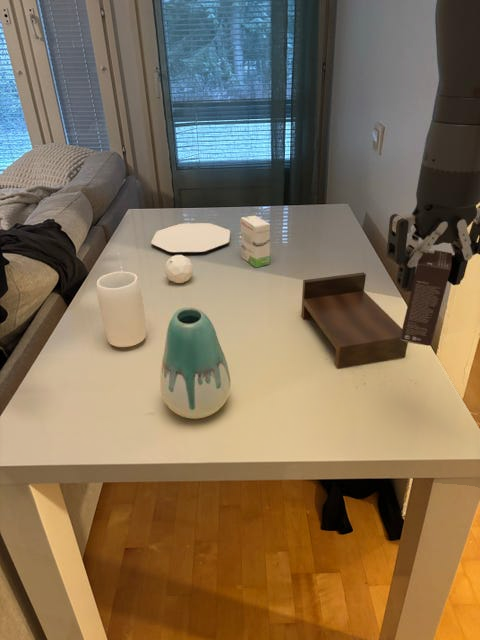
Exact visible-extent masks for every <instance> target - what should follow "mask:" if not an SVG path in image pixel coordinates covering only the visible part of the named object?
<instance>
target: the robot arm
mask: <svg viewBox="0 0 480 640" xmlns="http://www.w3.org/2000/svg"><path fill="white" fill-rule="evenodd" d="M434 23H435V24H434V25H435V26H434V27H435V44H436V63H437V71H438V73H437V74H438V83H437V88H436V94H435V99H434V102H433V103H434V105H433V109H432V116H431V120H430V124H429V127H428V132H427V134H426V138H425V141H424V148H423V152H422V153H423V154H422V159H421V164H420V170H419V175H418V180H417V187H416V193H415V197H416V205H415V207H414V210H413V211H412V212H411V214H407V215H399V214H397V213H393V214H391V216H390V217H389V222H388V234H387V244H386V246H387V247H386V256H387V258H389V259H390V260H391V261H392V262H393V263H395V264H396V265H398V269H397V275H396V281H395V282H396V284H397V285H398V287H399V288H400V289H401V290H402V291H403V292H404V293H408V292H409V293H410V292H411V290H412V286H413V281H414V276H415V272H416V268H417V263H418V261H419V259H420V258H421V256H422V255H423V254H426V253H427V252H428V251H429V250H431V248H432V247H433V246H438V245H441V244H443V243H444V244H450V246H451V249H452V252H453V253H454V254H452V264H451V270H450V274H449V277H448V281H447V283H449V284H451V285H452V286H459V285H460V284H461V282H462V281H463V279H464V278H465V275H466V270H467V267H468V263H469V261H470V260H471V259H472V258H473V256H475V255H477V254H478V255H480V205H479V204H480V0H436V2H435V13H434ZM470 225H471V226H470ZM412 226H413V229H411V228H412ZM469 227H470V229H469V231H468V228H469ZM408 234H409V235H408ZM419 239H421V240H422V242H419Z"/></svg>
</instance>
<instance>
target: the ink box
mask: <svg viewBox="0 0 480 640" xmlns="http://www.w3.org/2000/svg"><path fill="white" fill-rule="evenodd" d="M240 242H241V243H240V245H241V247H240V251H241V253H240V255H241V258H242V259H243V260H245V262H247V263H248V264H250V265H251V266H253V267H254V268H259V267H260V268H261V267H265V266H267V265H271V223H269V222H267V221H266V220H264V219H263V218H261V217H259V216H258V215H249V216H248V215H247V216H242V217H240Z"/></svg>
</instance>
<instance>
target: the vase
mask: <svg viewBox="0 0 480 640" xmlns="http://www.w3.org/2000/svg"><path fill="white" fill-rule="evenodd" d="M165 335H166V337H165V345H164V350H163V354H162V360H161V365H160V372H159V388H160V394H161V396H162V399H163V401H164V403H165V404H166V406H167V407H168V408H169V409H170V410H171V411H172V412H173V413H175V414H176V415H178V416H180V417H183V418H185V419H192V420H194V419H195V420H199V419H204V418H208V417H210V416H212V415H214V414H215V413H216V412H218V411H219V410H220V409H222V407H223V406H224V404H225V403H226V402H227V400H228V398H229V395H230V391H231V375H230V374H231V373H230V370H229V366H228V362H227V359H226V356H225V354H224V351H223V348H222V346H221V344H220V340H219V337H218V335H217V332H216V329H215V326H214V325H213V323H212V321H211V319H210V318H209V317H208V315H206V313H204V311H202V310H200V309H199V308H196V307H182V308H179V309H178V310H176V311H175V312H174V314H173V315H172V317H171V319H170V320H169V323H168V326H167V330H166V334H165Z"/></svg>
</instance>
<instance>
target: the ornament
mask: <svg viewBox="0 0 480 640" xmlns="http://www.w3.org/2000/svg"><path fill="white" fill-rule="evenodd" d="M164 273H165V275H166V277H167V279H168V280H169V281H171V282H173V283H175V284H183V283H185V282H187V281H189V280H190V278H191V277H192V275H193V273H194V266H193V264H192V261H191V259H190V258H188V257H187V256H184V255H183V254H175V255H172V256H171V257H169V258H168V259H167V261H166V262H165V265H164Z"/></svg>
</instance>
